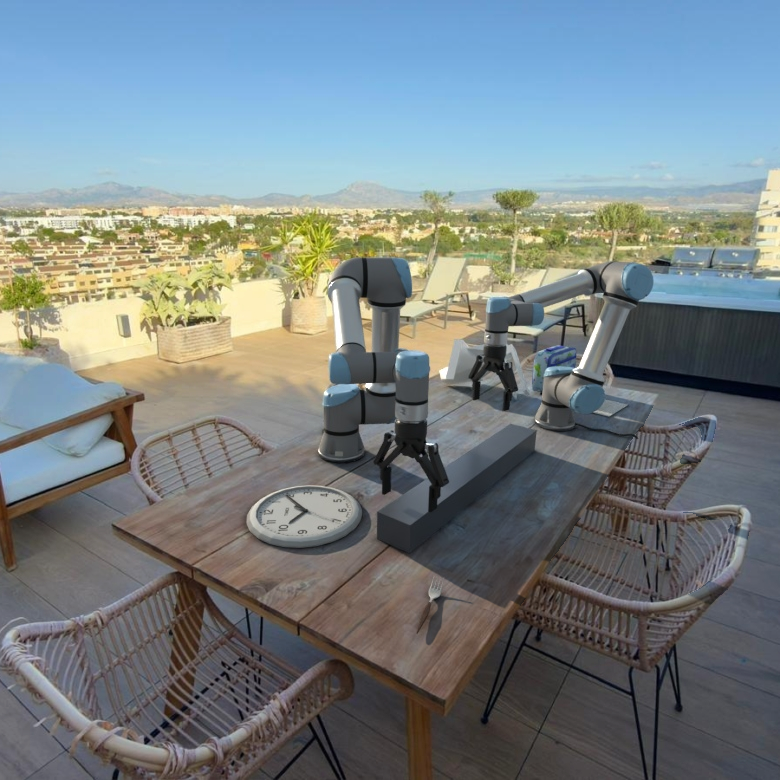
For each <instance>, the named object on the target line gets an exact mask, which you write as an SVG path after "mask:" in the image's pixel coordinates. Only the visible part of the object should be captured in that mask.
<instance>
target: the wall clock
mask: <svg viewBox="0 0 780 780" xmlns="http://www.w3.org/2000/svg"><path fill="white" fill-rule="evenodd" d="M362 516H363V509H362V507H361V504H360V503H359V501H358V500H357V499H356V498H355V497H354V496H352V495H350V494H349V493H348V492H346V491H344V490H341V489H338V488H335V487H330V486H325V485H311V484H310V485H309V484H307V485H296V486H290V487H287V488H286V487H285V488H282V489H280V490H276V491H274V492H271V493H268V494H267V495H266V496H264V497H262V498H260V499H259V500H257V502H255V504H253V505H252V506H251V507H250V509H249V511H248V513H247V514H246V526H247V528H248V531H249V532H250V534H252V535H253V536H254V537H255V538H256V539H258V540H260V541H262V542H265V543H267V544H269V545H272V546H277V547H282V548H294V549H295V548H297V549H301V548H302V549H304V548H312V547H318V546H322V545H327V544H330V543H333V542H336V541H338V540H340V539H343V538H344V537H346V536H348V535H349V534H351V533H352V532H353V531H354V530H355V529H357V527H358V525H360V522H361V521H362Z"/></svg>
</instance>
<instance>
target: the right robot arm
mask: <svg viewBox="0 0 780 780" xmlns="http://www.w3.org/2000/svg"><path fill="white" fill-rule="evenodd" d="M652 272H653V271H652V270H651V269H650V268H649V267H648V266H647V265H645V264H644V263H643V264H642V263H638V262H634V261H633V262H629V261H618V260H609V261H604V262H602V263H598V264H595V265H592V266H589V267H586V268H584V269H583V268H582V269H580V270H578V273H577V274H575V275H571V276H568V277H565V278H562V279H560V280H556V281H554V282H550V283H547V284H544V285H542V286H539V287H536V288H532V289H530V290H527V291H523V292H521V293H517V294H514V295H511V296H491V297H489V298H488V299H487V301H486V307H485V324H484V325H485V326H484V337H483V344H485V345H484V349H483V354H482V355H477V357H476V362H475V364H474V366H473V368H472V370H471V372H470V374H469V376H468V378H469V379H471V380H472V381H473V382H472V383H471V384H472V385H471V390H472V391H473V392H472V401H478V400H479V401H480V397H481V383H482V381H479V380H480V379H481V377H482V376H483V375H484V374H485V373H486V372H487V371H492V372H491V373H494V374H496V376H498V378H499V380H500V382H501V384H502V386H503V388H504V392H503V399H502V412H506V411H510V409H511V402H513V395H512V394H513V392H516V393H517V392H518V391H519V387H518V383H517V380H516V376H515V372H514V369H513V362H512V361H507V362H505V360H504V358H505V356H506V349H507V346H506V344H508V336H509V327H534V326H540V325H541V324H542V323H543V321H544V319H545V308H547V307H550V306H553V305H556V304H559V303H562V302H565V301H567V300H572V299H574V298H577V297H579V296H580V297H581V296H583V295H584V296H591V295H596V294H602V296H601V298H602V299H603V301H604V304H603V306H602V308H601V311H600V313H599V316H598V319H597V321H596V323H595V325H594V328H593V330H592V333H591V334H590V337H589V340H588V343H587V345H586V347H585V349H584V352H583V355H582V357H581V360H580V362H579V365H578V366H577V367H575V368H573V367H562V366H557V367H549V368H547V369H546V370H545V373H544V382H543V392H542V394H541V402H540V405H539V407H538V409H536V413H535V416H534V424H535V425H536V426H537V427H539V428H542V429H544V430H549V431H556V432H567V431H572V430H574V429H575V428H576V426H578V427H581V428H583V429H586V430H589V431H594V432H604V433H608V434H612V435H615V436H618V437H633V438H634V439H636V440H639V437H638V435H636V434H634V433H618V432H615V431H613V430H610V429H609V430H608V429H604V428H594V427H589V426H586V425H584V424H581V423H577V422H576V418H575V417H576V416H575V413H574V412H577V413H579V414H581V415H590V414H593V413H592V412H594V411H597V410H598V409H599V408H600V407H601V406H602V404H603V403H604V400H605V399H606V393H605V389H604V384H605V381H606V380H605V378H604V373H605V370H606V368H607V365H608V363H609V361H610V358H611V356H612V353H613V351H614V349H615V346H616V344H617V342H618V339H619V338H620V335H621V332H622V331H623V327H624V326H625V322H626V320H627V318H628V315H629V314H630V311H631V310H633V309H635V308H637V306H638V304H639V302H640V301H641V300H644V299H645V298H646V297H648V296H649V295H650V294H651V292H652V290H653V287H654V275H653V274H652ZM483 361H484V365H483V366H482V367H481V365H482V363H483ZM480 367H481V369H480ZM504 368H505V369H504ZM479 369H480V371H479ZM478 371H479V372H478Z"/></svg>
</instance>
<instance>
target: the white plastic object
mask: <svg viewBox="0 0 780 780" xmlns="http://www.w3.org/2000/svg"><path fill="white" fill-rule="evenodd" d="M484 345H485V343H483V344H479V345H473V346H469V345H468V343H466V342H465V340H464V339H463V338H460V339H458V338H454V340H453V344H452V349H451V353H450V357H449V362H448V366H446V367H444V368H442V369H440V370H439V371H438V372H439V376H440V381H442V383H443V384H444V385H445V386H449V385H458V384H467V383H468V384H469V383H473V381H472V380H471V379H469V378H468V376H469V374H470V372H471V370H472V368H473V366H474V364H475V362H476V357H477V355H482V354H483V349H484ZM506 346H507V349H506V356H505V358H504V360H505V362H509V361H510V360H513V363H514V366H515V369H516V372H517V376H518V380H519V382H520V385H521V389H522V391H523V393H524V395H525V396H526V397H528V396H531V395H530V390H529V388H528V387H529V386H528V384H527V381H526V378H525V375H524V371H523V369H522V368H523V367H522V366H521V362H520V359H519V355H518V352H517V349H516V347H515V346H514V345H513V343H511V344H508V343H507V344H506ZM483 365H484V361H483V363H482V365H481V367H482V366H483ZM481 367H480V369H481ZM480 369H479V371H480ZM504 369H505V368H504ZM479 371H478V372H479ZM490 373H493V372H492V371H487V372H486V373H485V374H484V375H483V376H482V377H481V379H480V380H479V381H480V382H482V381H484V378H485V377H486V376H487V375H489V374H490ZM512 397H513V398H514V399H515V400H517V391H516V392H513V394H512Z"/></svg>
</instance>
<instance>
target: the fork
mask: <svg viewBox="0 0 780 780" xmlns="http://www.w3.org/2000/svg"><path fill="white" fill-rule="evenodd" d="M438 577H439V576H438V575H437V576H436V579H435V574H433V578H432V580H431V584H430V587H429V589H428V596H429V598H430V599H429V601H428V603H427V604H426V605H425V607H424V609H423V610H422V613H421V616H420V620H419V624H418V625H417V630H416V634H417V635H418V634H419V632H420V630H421V628H422V626H423V625H424V623H425V622H426V620H427V618H428V616H429V613H430V610H431V606H432V603H433V600H435V599H437V598H439V597H441V595H442V591H443V586H444V581H445V578H443V579H442V576H440V577H439V581H438ZM434 580H435V582H434ZM441 580H442V582H441ZM437 582H438V584H437ZM440 584H441V585H440Z"/></svg>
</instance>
